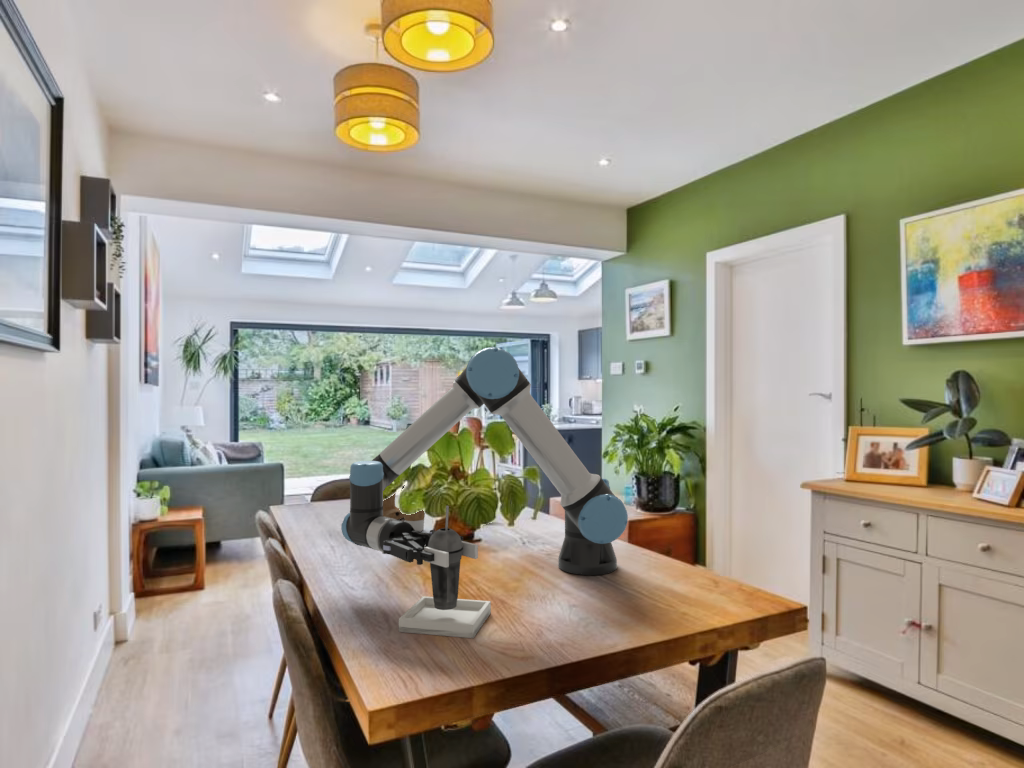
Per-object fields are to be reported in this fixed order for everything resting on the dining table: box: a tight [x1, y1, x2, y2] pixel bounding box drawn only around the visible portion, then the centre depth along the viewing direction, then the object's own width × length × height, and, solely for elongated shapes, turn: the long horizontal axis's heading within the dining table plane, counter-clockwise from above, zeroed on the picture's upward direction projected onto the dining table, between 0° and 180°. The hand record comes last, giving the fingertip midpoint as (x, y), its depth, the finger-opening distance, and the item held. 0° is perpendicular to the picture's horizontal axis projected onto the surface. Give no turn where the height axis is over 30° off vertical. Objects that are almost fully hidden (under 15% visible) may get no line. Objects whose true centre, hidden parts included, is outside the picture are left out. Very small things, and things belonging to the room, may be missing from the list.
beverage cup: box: [428, 505, 463, 610], centre depth 124 cm, size 7×7×20 cm
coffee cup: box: [401, 484, 426, 532], centre depth 203 cm, size 8×8×15 cm
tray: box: [398, 595, 492, 639], centre depth 124 cm, size 15×13×2 cm
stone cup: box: [383, 493, 404, 520], centre depth 222 cm, size 15×12×15 cm
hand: (462, 555), depth 120 cm, fingers closed on beverage cup, 7 cm apart
